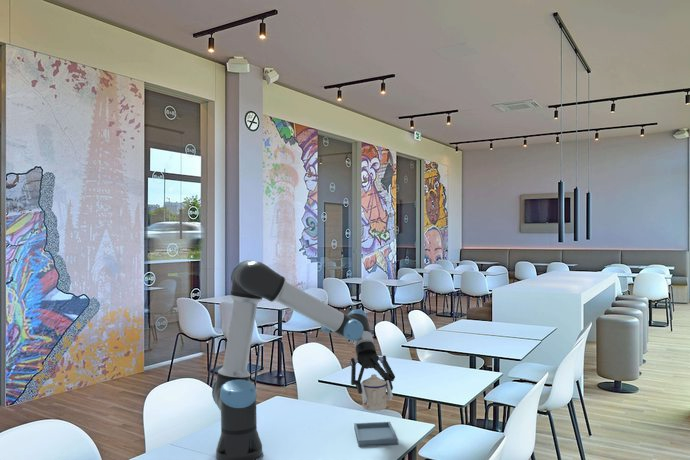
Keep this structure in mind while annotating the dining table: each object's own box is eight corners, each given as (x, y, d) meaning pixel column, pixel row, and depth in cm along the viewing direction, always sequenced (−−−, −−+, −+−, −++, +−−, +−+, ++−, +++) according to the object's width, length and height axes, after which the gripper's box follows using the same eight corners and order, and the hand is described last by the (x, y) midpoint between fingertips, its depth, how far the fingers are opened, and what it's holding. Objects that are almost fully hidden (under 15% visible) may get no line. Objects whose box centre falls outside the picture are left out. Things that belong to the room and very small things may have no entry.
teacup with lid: (362, 402, 192) (361, 371, 193) (386, 403, 192) (386, 371, 192) (361, 414, 180) (360, 380, 181) (387, 414, 180) (386, 380, 180)
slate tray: (358, 446, 177) (358, 440, 177) (354, 428, 194) (354, 423, 194) (397, 444, 178) (397, 438, 178) (390, 426, 195) (390, 421, 195)
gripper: (389, 349, 204) (404, 401, 188) (335, 353, 199) (346, 408, 183) (393, 338, 199) (409, 391, 183) (338, 342, 194) (350, 397, 178)
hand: (378, 399), depth 183 cm, fingers closed on teacup with lid, 9 cm apart
